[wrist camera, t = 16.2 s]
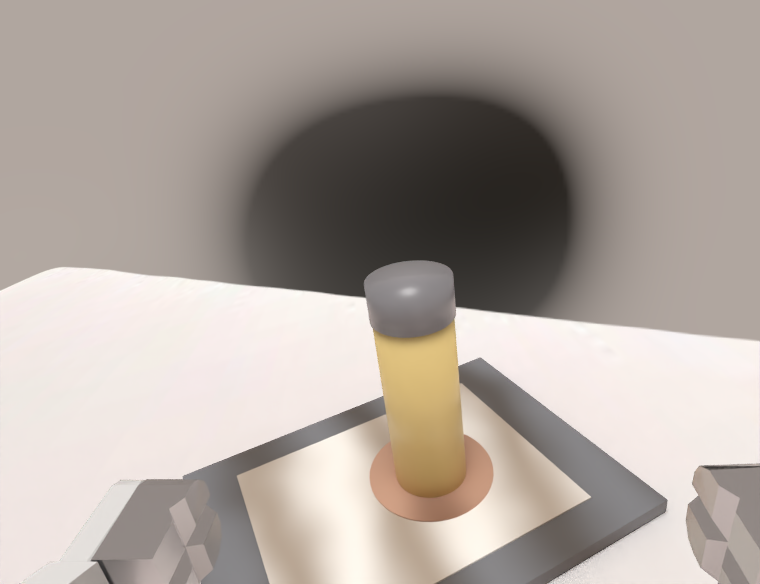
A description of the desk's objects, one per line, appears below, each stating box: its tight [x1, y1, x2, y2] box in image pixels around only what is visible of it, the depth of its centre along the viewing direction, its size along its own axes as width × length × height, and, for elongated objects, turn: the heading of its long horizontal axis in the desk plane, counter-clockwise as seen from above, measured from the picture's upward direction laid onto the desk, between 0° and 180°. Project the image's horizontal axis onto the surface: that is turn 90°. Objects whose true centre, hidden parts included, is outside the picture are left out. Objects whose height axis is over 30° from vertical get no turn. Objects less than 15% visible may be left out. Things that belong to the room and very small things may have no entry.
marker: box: [364, 261, 466, 498], centre depth 27 cm, size 4×4×12 cm
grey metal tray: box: [183, 358, 667, 584], centre depth 29 cm, size 22×16×1 cm
